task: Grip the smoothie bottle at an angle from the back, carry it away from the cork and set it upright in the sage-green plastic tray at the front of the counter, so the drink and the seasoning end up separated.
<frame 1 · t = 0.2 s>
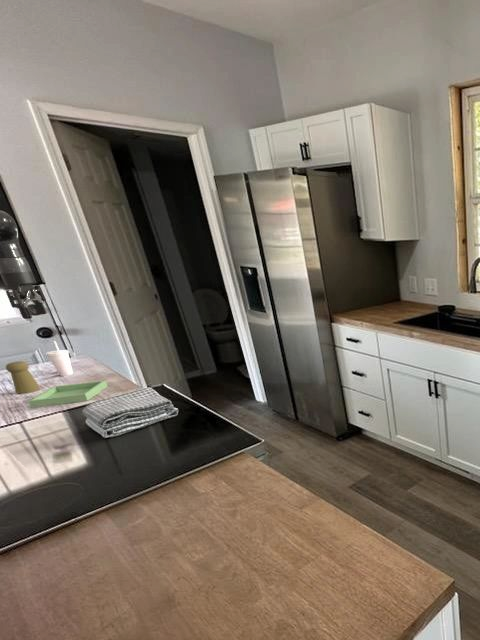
hand: (35, 316, 150), 25 cm above the worktop, tool pointing down, fingers open, 8 cm apart
smoothie: (66, 375, 167), on the worktop
towel: (136, 423, 124), on the worktop
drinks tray: (71, 396, 144), on the worktop
cork: (28, 391, 150), on the worktop
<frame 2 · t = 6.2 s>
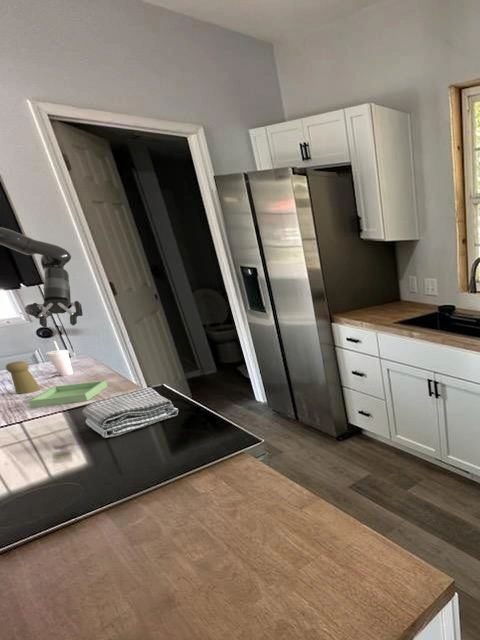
hand: (58, 325, 170), 18 cm above the worktop, tool tilted 40°, fingers open, 8 cm apart
nothing on the worktop moved.
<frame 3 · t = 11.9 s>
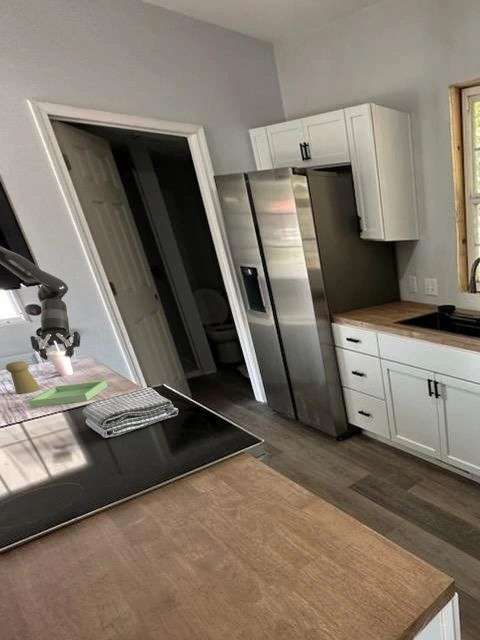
hand: (57, 357, 162), 8 cm above the worktop, tool tilted 45°, fingers closed on smoothie, 6 cm apart
smoothie: (66, 375, 167), on the worktop, touching gripper
everything else where it was.
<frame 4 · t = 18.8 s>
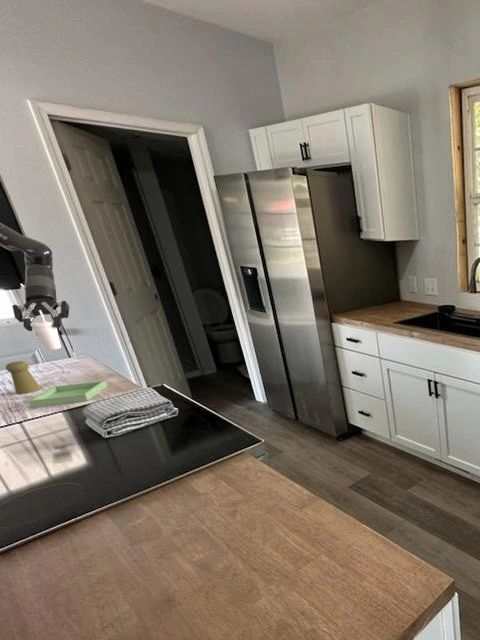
hand: (43, 328, 146), 22 cm above the worktop, tool tilted 45°, fingers closed on smoothie, 6 cm apart
smoothie: (54, 349, 150), point 14 cm above the worktop, touching gripper
everything else where it was.
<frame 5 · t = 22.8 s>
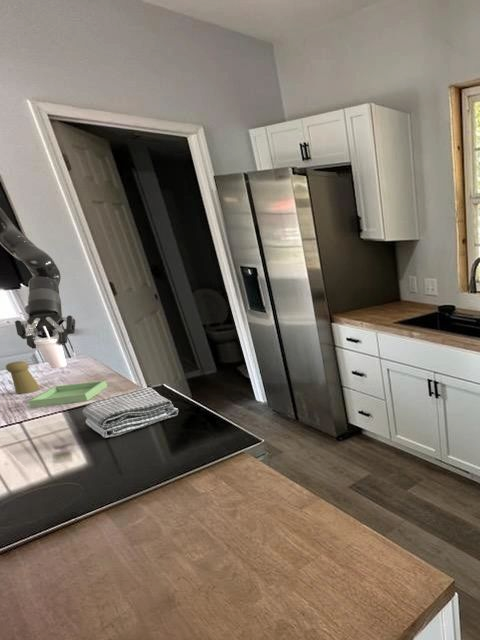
hand: (47, 345, 136), 19 cm above the worktop, tool tilted 45°, fingers closed on smoothie, 6 cm apart
smoothie: (59, 367, 141), point 11 cm above the worktop, touching gripper
everything else where it was.
when the fingers open (8 cm above the worktop, at t = 26.2 s): smoothie stays where it is, resting on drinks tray.
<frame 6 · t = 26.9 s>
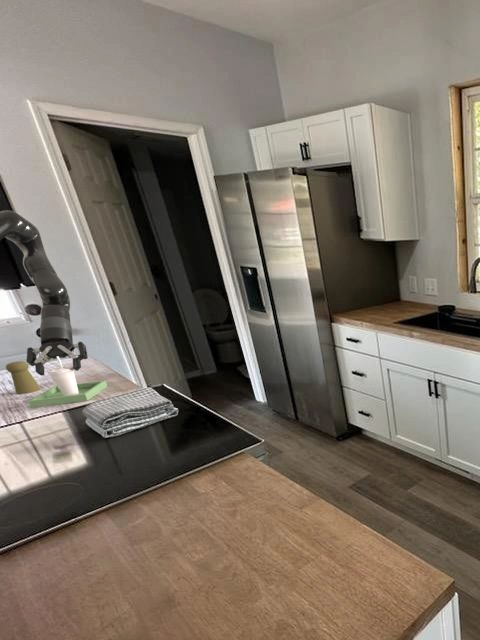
hand: (58, 371, 140), 10 cm above the worktop, tool tilted 45°, fingers open, 8 cm apart
smoothie: (71, 395, 144), resting on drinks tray
everything else where it was.
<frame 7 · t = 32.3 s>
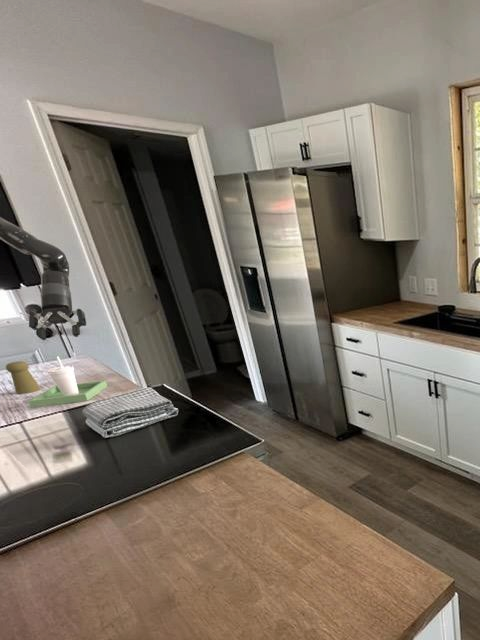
hand: (59, 337, 148), 19 cm above the worktop, tool tilted 40°, fingers open, 8 cm apart
nothing on the worktop moved.
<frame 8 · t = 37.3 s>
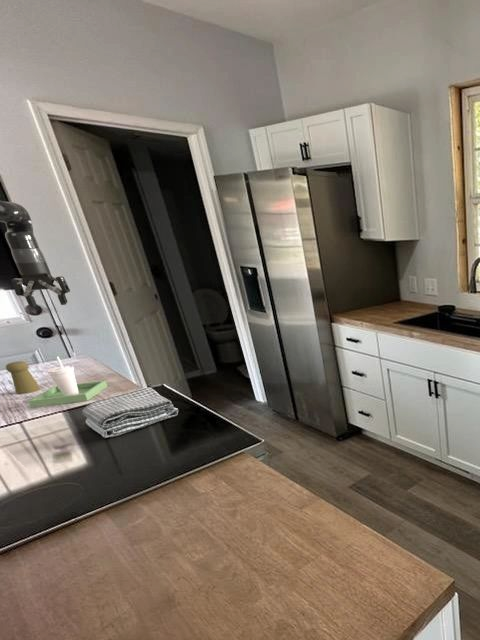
hand: (49, 305, 156), 28 cm above the worktop, tool pointing down, fingers open, 8 cm apart
nothing on the worktop moved.
at the end: smoothie inside the target area in the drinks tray (0.2 cm from its centre), point 0.4 cm above the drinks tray's base; smoothie tilted 0°; cork moved 0.2 cm from its start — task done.
